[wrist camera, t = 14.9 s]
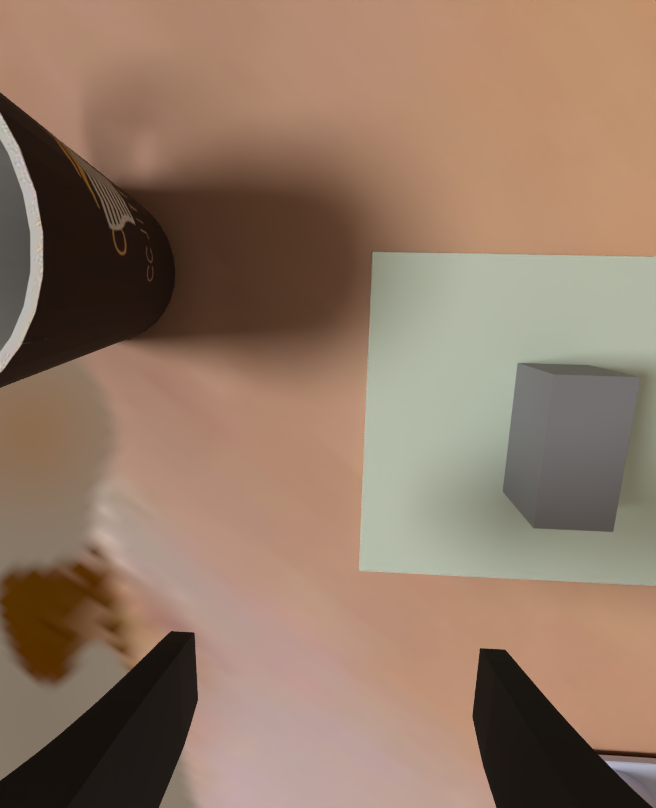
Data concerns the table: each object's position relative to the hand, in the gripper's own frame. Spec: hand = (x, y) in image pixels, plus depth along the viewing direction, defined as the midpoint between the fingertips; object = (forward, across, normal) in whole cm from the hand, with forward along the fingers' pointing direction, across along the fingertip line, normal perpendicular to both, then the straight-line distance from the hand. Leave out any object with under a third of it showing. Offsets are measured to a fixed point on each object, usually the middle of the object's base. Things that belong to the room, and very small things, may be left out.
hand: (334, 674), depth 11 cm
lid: (+11, -9, -4) cm, 15 cm away
